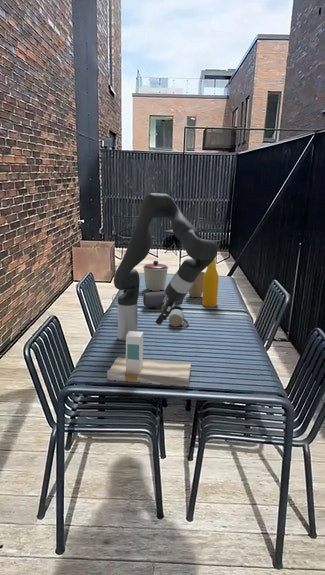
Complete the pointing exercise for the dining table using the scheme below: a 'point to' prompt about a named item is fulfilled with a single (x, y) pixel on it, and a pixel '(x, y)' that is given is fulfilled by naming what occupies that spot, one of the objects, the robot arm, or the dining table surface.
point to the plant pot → (197, 286)
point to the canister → (155, 276)
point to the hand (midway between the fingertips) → (159, 316)
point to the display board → (152, 372)
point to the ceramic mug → (177, 318)
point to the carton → (134, 351)
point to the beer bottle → (210, 285)
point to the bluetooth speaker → (156, 299)
